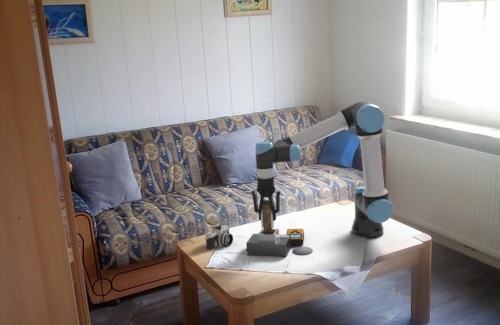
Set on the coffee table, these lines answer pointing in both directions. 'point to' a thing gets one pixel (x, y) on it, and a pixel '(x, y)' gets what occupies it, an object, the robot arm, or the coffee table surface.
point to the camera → (218, 237)
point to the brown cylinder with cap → (267, 217)
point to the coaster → (302, 250)
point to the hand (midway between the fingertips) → (267, 226)
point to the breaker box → (269, 244)
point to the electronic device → (296, 236)
